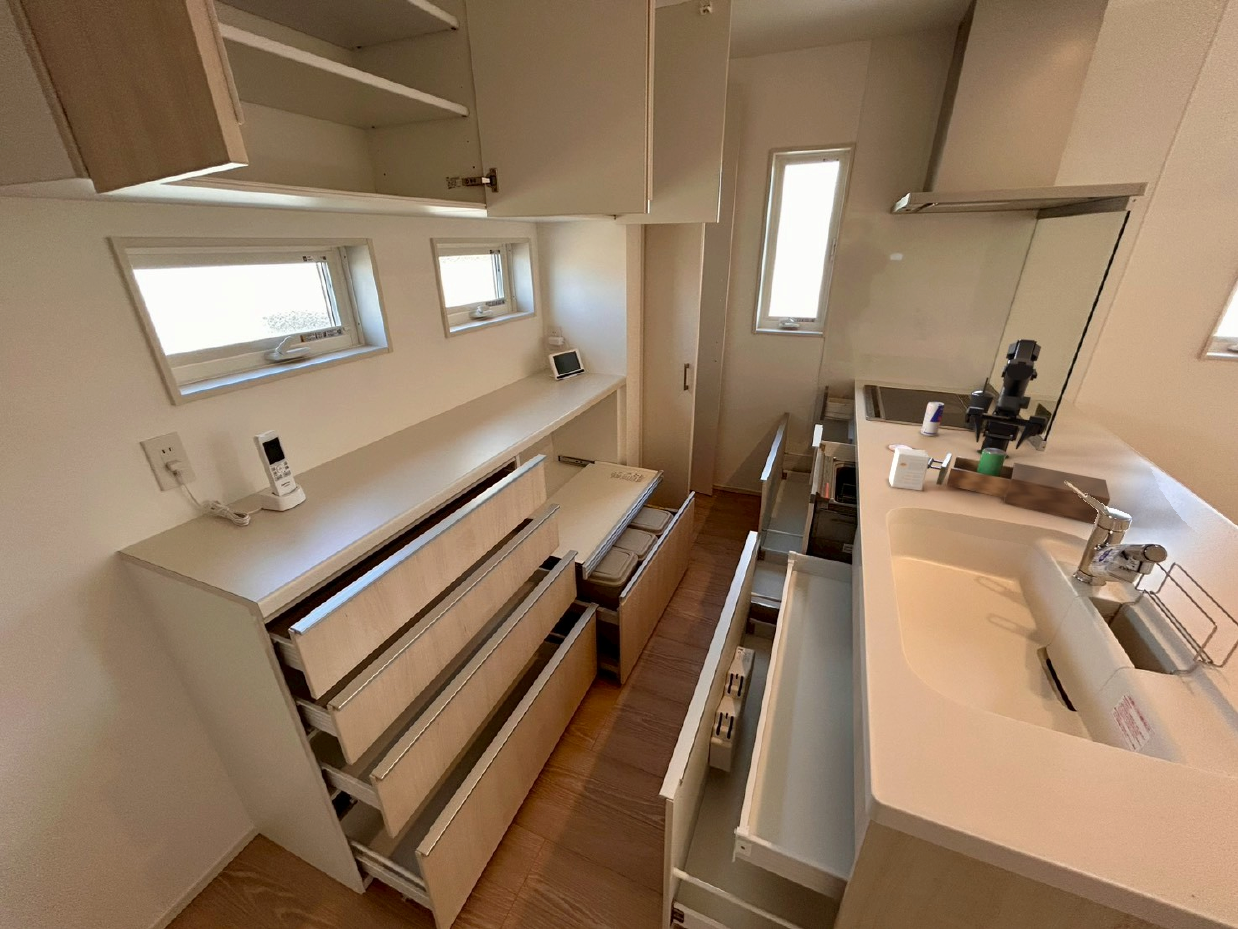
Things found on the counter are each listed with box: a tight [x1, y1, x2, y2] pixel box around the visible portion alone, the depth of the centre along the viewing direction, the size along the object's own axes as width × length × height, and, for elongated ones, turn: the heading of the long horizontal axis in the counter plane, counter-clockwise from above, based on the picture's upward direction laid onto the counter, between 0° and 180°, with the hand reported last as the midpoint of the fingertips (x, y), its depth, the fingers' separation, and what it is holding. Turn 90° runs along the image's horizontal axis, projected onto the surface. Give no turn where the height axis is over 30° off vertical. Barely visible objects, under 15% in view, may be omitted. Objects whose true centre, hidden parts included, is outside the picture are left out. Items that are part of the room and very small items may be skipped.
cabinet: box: [1003, 462, 1111, 525], centre depth 133 cm, size 19×14×7 cm
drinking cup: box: [965, 377, 996, 430], centre depth 191 cm, size 8×8×20 cm
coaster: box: [888, 443, 913, 452], centre depth 173 cm, size 8×8×1 cm
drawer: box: [927, 452, 1013, 499], centre depth 144 cm, size 23×13×6 cm, turn 51°
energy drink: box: [920, 401, 945, 437], centre depth 186 cm, size 5×5×12 cm
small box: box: [888, 448, 931, 491], centre depth 144 cm, size 8×6×10 cm
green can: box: [976, 448, 1007, 477], centre depth 140 cm, size 5×5×10 cm
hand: (996, 445), depth 142 cm, fingers open, 9 cm apart
